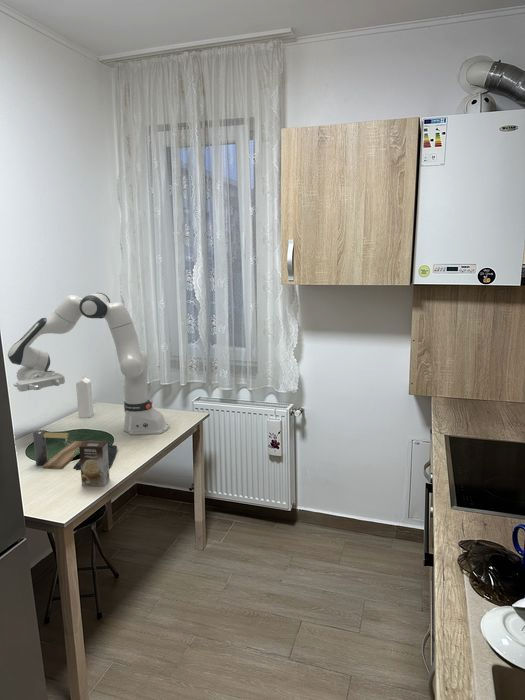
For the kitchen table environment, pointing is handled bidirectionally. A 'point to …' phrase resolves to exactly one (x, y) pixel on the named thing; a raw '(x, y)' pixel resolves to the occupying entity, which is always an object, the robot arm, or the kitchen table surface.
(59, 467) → the board
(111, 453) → the dark slate chunk
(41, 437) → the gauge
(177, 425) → the kitchen table surface
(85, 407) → the milk
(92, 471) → the coffee box
